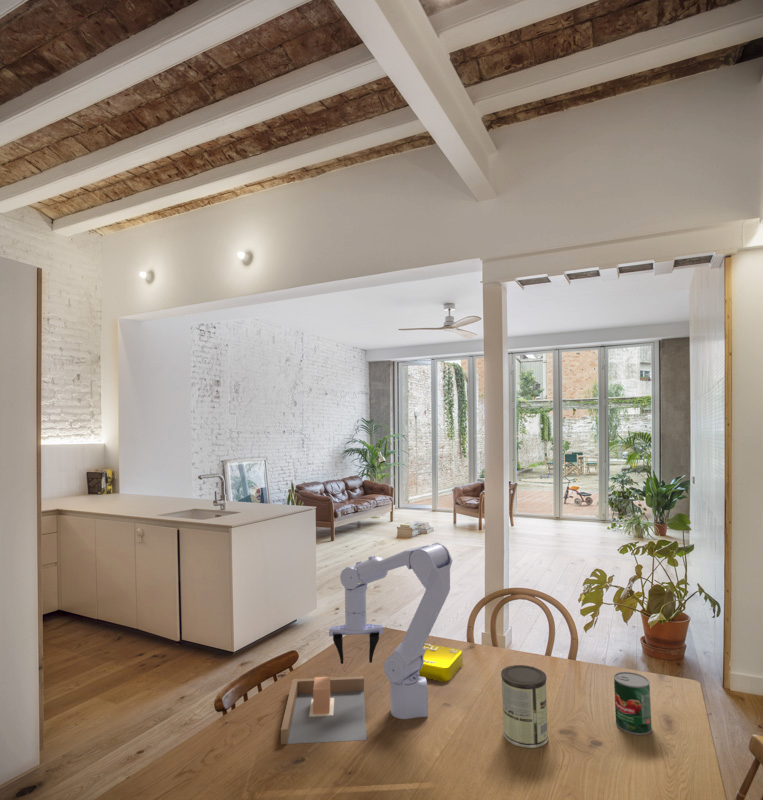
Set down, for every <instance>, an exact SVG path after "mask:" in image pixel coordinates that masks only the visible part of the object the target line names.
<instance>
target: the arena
mask: <svg viewBox="0 0 763 800" xmlns="http://www.w3.org/2000/svg"><path fill="white" fill-rule="evenodd" d="M314 680H315V677H313V678H312V677H311V678H293V679H292V681H291V684H290V687H289V688H290V689H289V693H288V698H287V702H286V705H285V712H284V714H283V719H282V724H281V728H280V745H292V744H293V745H296V744H312V743H313V744H314V743H315V744H316V743H336V742H337V743H339V742H352V741H353V742H356V741H358V742H359V741H367V740H368V739H367V721H366V719H367V717H366V703H365V702H366V700H365V676H364V675H361V676H359V675H358V676H340V677H339V676H338V677H330V712H329V713H328V714H313V687H314Z"/></svg>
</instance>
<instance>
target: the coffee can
mask: <svg viewBox="0 0 763 800" xmlns="http://www.w3.org/2000/svg"><path fill="white" fill-rule="evenodd" d="M500 672H501V673H500V674H501V675H500V676H501V689H502V690H501V691H502V718H503V719H502V720H503V737H504V738H505V740H506V741H508V742H509V744H512V745H514V746H517V747H520V748H524V749H525V748H526V749H536V748H540V747H543V746H545V745H546V744H547V743H548V742H549V729H548V727H549V725H548V708H547V707H548V705H547V704H548V701H547V700H548V699H547V698H548V697H547V675H546V673H545V672H544V671H543V670H542V669H539V668H537V667H534V666H531V665H525V664H524V665H523V664H516V665H509V666H506V667H504V668H503V669H502V670H501V671H500Z"/></svg>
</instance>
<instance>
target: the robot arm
mask: <svg viewBox="0 0 763 800" xmlns="http://www.w3.org/2000/svg"><path fill="white" fill-rule="evenodd" d="M452 564H453V559H452V556H451V554H450V552H449V549H448V547H447V546H445V544H443V543H440V542H435V543H433V544H430V545H429V544H426V545H421V546H416V547H412V548H409V549H406V550H405V549H404V551H401V552H398V553H396V554H394V555H391V556H388V557H387V558H383V557H381V556H376V555H371V556H368V558H367V559H366V560H364V561H362V560H359V561H357V562H355V564H354V565H351V566H346V567H345V568H343V569H342V570H341V572H340V576H339V577H340V579H339V580H340V583H341V585H342V586H343V587H344V609H345V610H344V611H345V612H344V613H345V614H344V615H345V616H344V617H345V619H344V620H345V621H344V623H345V624H341V625H340V624H339V625H334V626H328V636H329V637H332V641H333V643H334V646H335V647H336V650H337V652H338V656H339V661H340V665H343V664H344V649H343V645H344V644H343V636H352V635H355V636H356V635H369V650H368V652H369V653H368V657H369V658H368V660H369V661H368V662H369V663H370V664H372V663H373V658H374V652H375V649H376V646H377V644H378V643H379V641H380V635H384V627H383V624H373V623H367V590H368V584H370V583H373V582H376V581H379V580H382V579H385V578H386V577H387V575H388V573H389V571H392V570H395V569H398V568H401V567H404V566H406V567H407V569H408V570H412V571H413V573H414V574H415V576H416V577H417V579H418V580H419V582H420V583H421V585H422V586H423V588H424V589H425V591H424V593H423V595H422V597H421V600H420V602H419V604H418V606H417V608H416V611H415V613H414V615H413V618H412V619H411V622H410V623H409V626H408V629H407V631H406V633H405V635H404V636H403V639H402V641H401V642H400V643H399V645H397V646H396V647H395V649H394V650H393V651H392V654H391V655H390V656H388V657H387V658H386V659H385V661H384V663H383V670H384V674H385V676H386V677H387V679H388V681H389V685H390V686H389V687H390V688H389V691H390V693H389V694H390V696H389V697H390V715H391V716H393V717H394V718H397V719H400V720H408V719H409V720H411V719H414V718H428V717H429V697H428V695H429V693H428V691H429V689H428V682H427V679H426V677H420V676H419V670H420V669H421V668H422V666H423V663H424V654H425V651H426V650H425V648H424V644H426V642H427V641H428V638H429V635H430V634H431V632H432V629H433V627H434V625H435V624H436V621H437V619H438V617H439V614H441V613H440V612H441V610H442V609H443V607H444V604H445V602H446V600H447V598H448V595H449V593H450V590H451V566H452Z"/></svg>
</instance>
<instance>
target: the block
mask: <svg viewBox="0 0 763 800" xmlns="http://www.w3.org/2000/svg"><path fill="white" fill-rule="evenodd" d="M314 678H315V680H314V687H313V714H328V713H329V712H330V678H331V676H315V677H314Z"/></svg>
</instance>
